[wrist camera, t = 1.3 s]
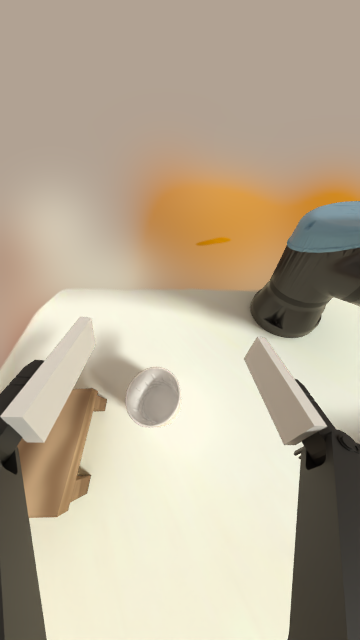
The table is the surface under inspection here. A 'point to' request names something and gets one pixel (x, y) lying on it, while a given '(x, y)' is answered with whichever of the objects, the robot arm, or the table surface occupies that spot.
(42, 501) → the stool
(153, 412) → the white cup
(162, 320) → the table surface
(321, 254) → the robot arm
